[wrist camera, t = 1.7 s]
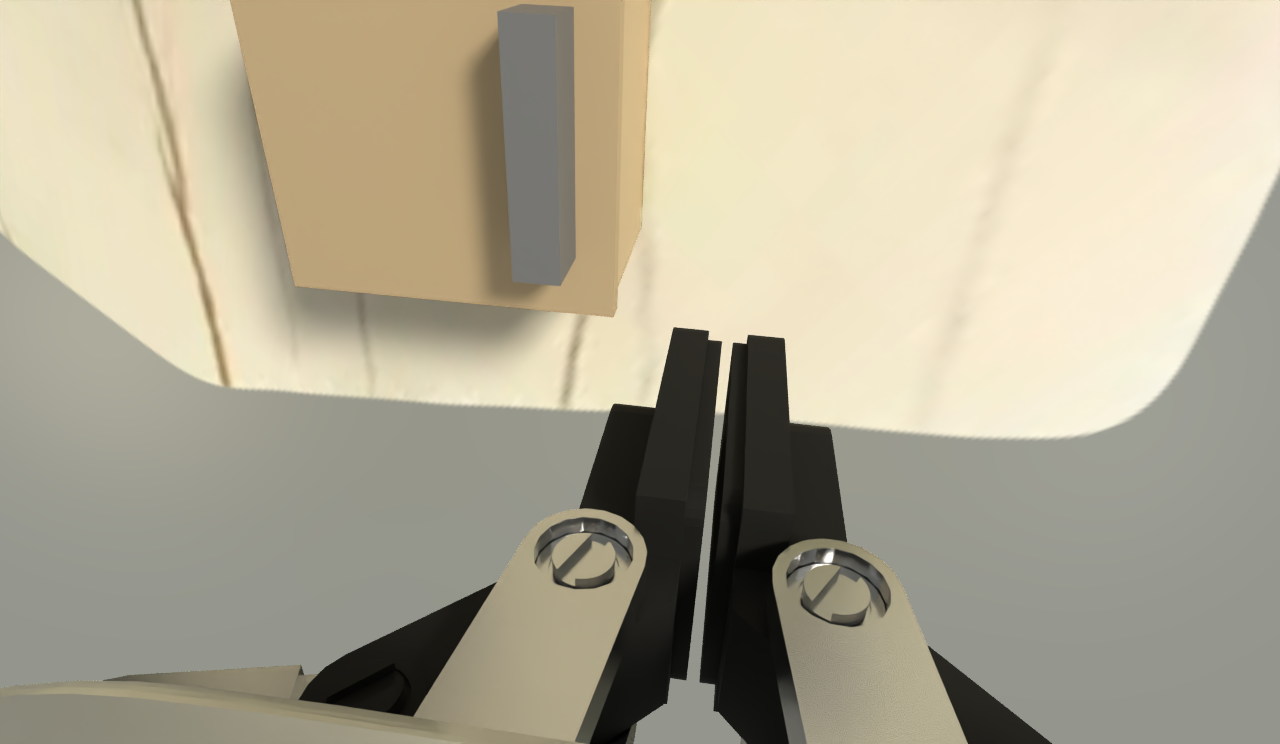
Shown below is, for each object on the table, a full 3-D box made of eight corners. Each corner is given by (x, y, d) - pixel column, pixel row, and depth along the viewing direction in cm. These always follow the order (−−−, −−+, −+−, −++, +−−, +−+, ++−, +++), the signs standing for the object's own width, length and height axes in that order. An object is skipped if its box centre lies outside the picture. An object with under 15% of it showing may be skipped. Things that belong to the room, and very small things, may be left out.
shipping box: (357, -85, 29) (238, -88, 23) (653, -71, 28) (621, -71, 22) (397, 205, 36) (313, 270, 29) (641, 226, 35) (613, 298, 28)
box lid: (224, -97, 22) (151, -100, 20) (626, -79, 21) (607, -79, 18) (306, 277, 29) (259, 314, 26) (617, 307, 28) (601, 349, 25)
